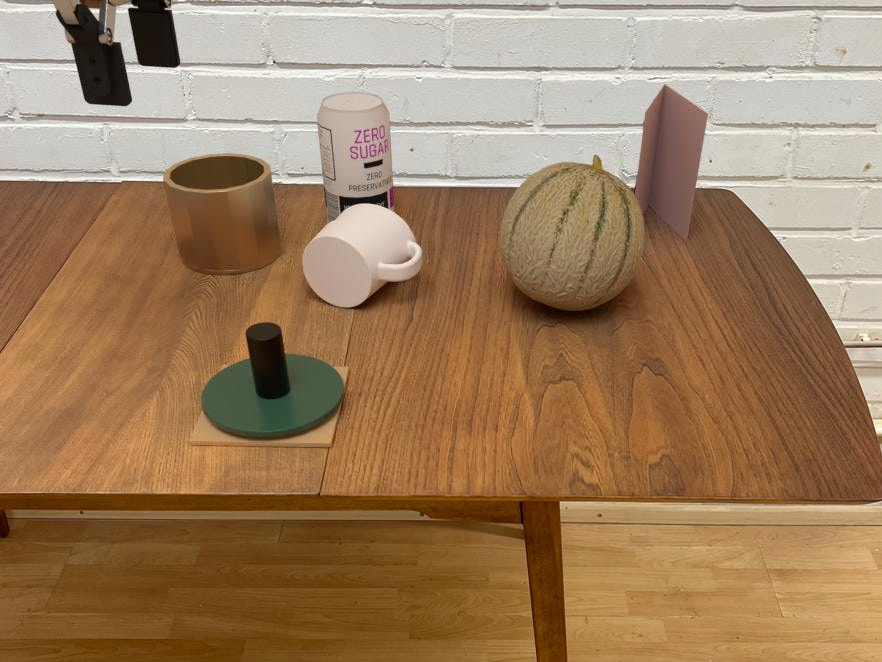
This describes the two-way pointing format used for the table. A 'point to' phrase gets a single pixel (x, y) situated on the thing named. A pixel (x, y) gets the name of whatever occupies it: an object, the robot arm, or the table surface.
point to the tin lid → (271, 389)
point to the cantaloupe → (572, 235)
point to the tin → (223, 213)
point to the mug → (360, 255)
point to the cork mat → (310, 437)
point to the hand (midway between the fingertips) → (136, 83)
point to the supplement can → (355, 151)
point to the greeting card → (670, 158)
